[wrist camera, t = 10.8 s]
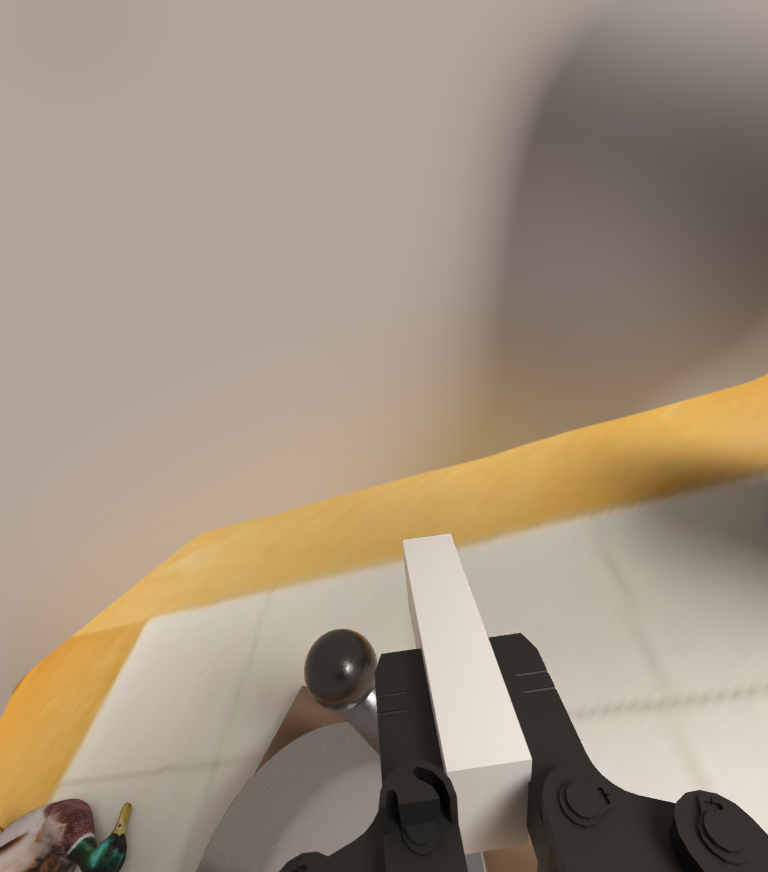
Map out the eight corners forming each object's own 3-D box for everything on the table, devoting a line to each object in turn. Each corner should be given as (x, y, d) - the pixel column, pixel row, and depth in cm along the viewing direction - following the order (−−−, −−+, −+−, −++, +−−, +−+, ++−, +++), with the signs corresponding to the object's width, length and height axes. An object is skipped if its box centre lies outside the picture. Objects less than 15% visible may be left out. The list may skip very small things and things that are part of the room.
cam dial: (247, 1475, 18) (-339, 1937, 8) (157, 890, 35) (-60, 801, 25) (590, 927, 26) (515, 808, 16) (378, 668, 43) (278, 533, 33)
